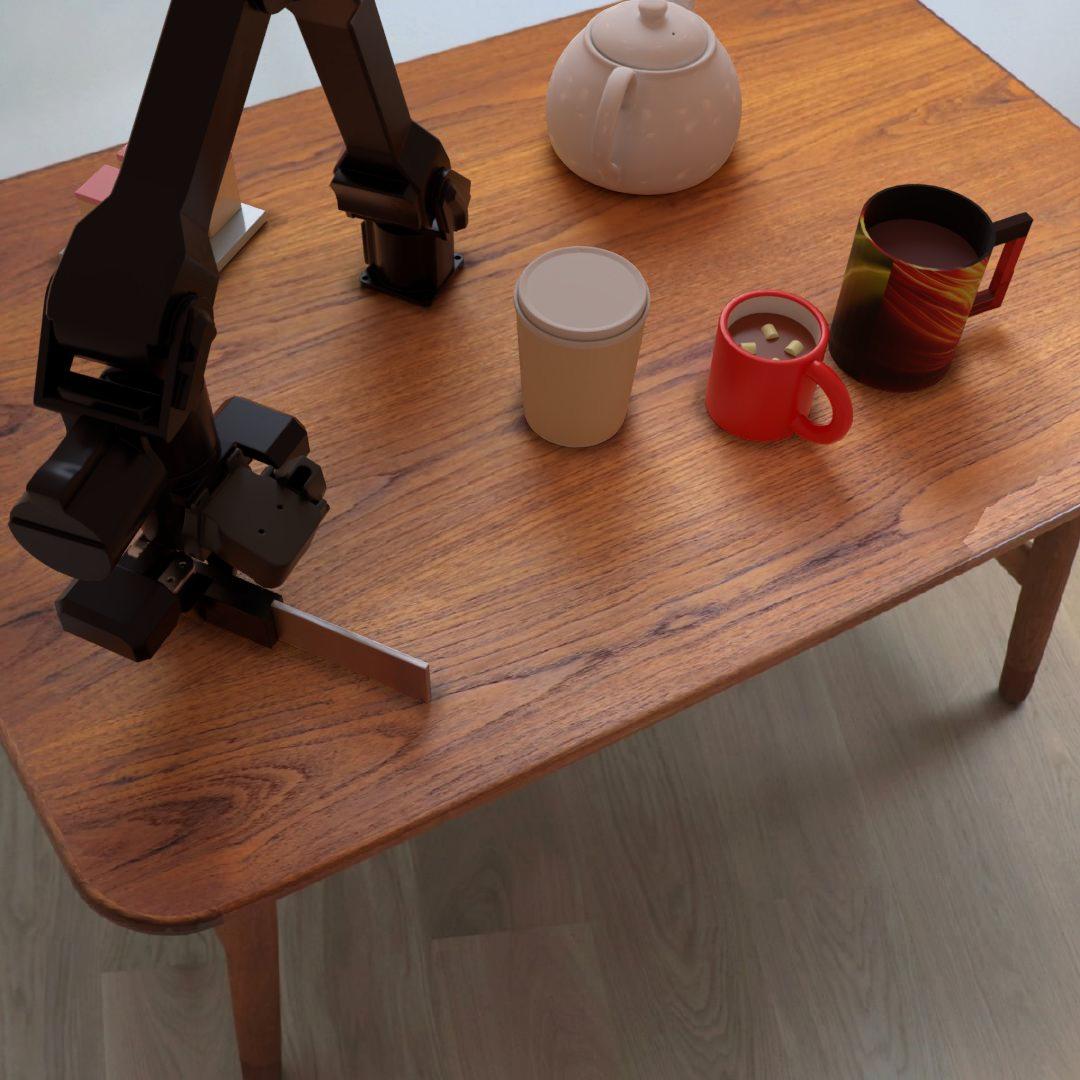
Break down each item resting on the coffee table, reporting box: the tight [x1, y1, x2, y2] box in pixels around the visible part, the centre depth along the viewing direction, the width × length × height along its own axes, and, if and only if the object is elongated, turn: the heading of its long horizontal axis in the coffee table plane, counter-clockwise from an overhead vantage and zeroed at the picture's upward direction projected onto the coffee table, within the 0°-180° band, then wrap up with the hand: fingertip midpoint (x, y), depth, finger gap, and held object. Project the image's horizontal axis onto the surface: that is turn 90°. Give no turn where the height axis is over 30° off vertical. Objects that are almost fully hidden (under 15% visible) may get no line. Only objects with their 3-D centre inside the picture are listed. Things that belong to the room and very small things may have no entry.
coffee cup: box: [513, 245, 652, 448], centre depth 97 cm, size 9×9×12 cm
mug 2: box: [827, 183, 1034, 393], centre depth 103 cm, size 10×14×12 cm
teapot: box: [545, 0, 743, 196], centre depth 116 cm, size 19×18×14 cm
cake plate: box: [58, 142, 268, 273], centre depth 110 cm, size 12×12×7 cm
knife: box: [192, 558, 432, 704], centre depth 87 cm, size 21×2×4 cm, turn 65°
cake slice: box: [74, 164, 120, 219], centre depth 108 cm, size 8×4×6 cm, turn 65°
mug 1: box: [704, 289, 854, 446], centre depth 99 cm, size 8×12×8 cm, turn 43°
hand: (212, 600), depth 89 cm, fingers open, 3 cm apart
